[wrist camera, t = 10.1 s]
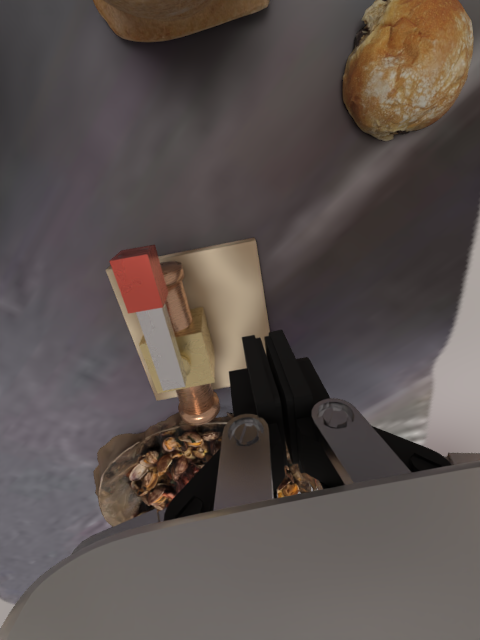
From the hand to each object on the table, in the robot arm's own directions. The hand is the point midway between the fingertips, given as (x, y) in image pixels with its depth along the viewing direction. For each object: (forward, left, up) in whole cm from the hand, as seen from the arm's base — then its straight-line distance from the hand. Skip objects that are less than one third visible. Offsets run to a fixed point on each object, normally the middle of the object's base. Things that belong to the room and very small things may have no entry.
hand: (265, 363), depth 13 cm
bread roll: (+17, +12, -23) cm, 32 cm away
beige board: (-6, -9, -23) cm, 25 cm away
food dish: (-12, -37, -24) cm, 45 cm away
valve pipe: (-8, -9, -22) cm, 25 cm away
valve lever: (-7, -3, -14) cm, 16 cm away
